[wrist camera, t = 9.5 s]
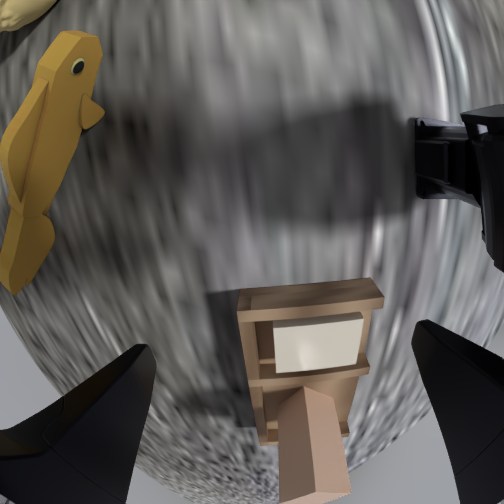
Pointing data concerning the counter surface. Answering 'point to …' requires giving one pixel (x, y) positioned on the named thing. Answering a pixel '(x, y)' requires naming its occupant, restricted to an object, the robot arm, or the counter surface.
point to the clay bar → (310, 450)
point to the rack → (321, 380)
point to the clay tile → (317, 342)
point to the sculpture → (21, 12)
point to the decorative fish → (45, 149)
